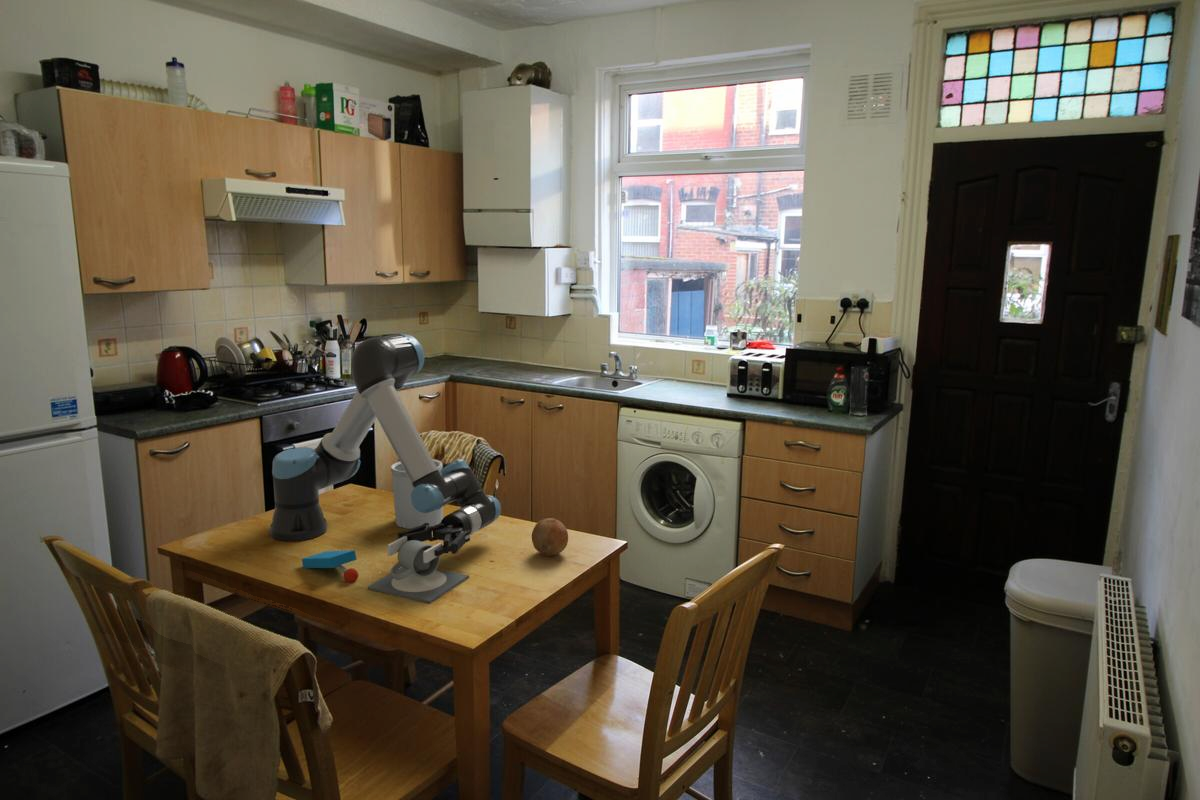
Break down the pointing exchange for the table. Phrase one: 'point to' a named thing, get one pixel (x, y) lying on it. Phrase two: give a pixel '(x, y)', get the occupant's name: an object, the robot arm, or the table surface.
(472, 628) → the table surface
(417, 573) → the ceramic mug
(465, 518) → the robot arm
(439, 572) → the mat
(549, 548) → the reddish-brown ball
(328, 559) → the lever
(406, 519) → the utensil holder
